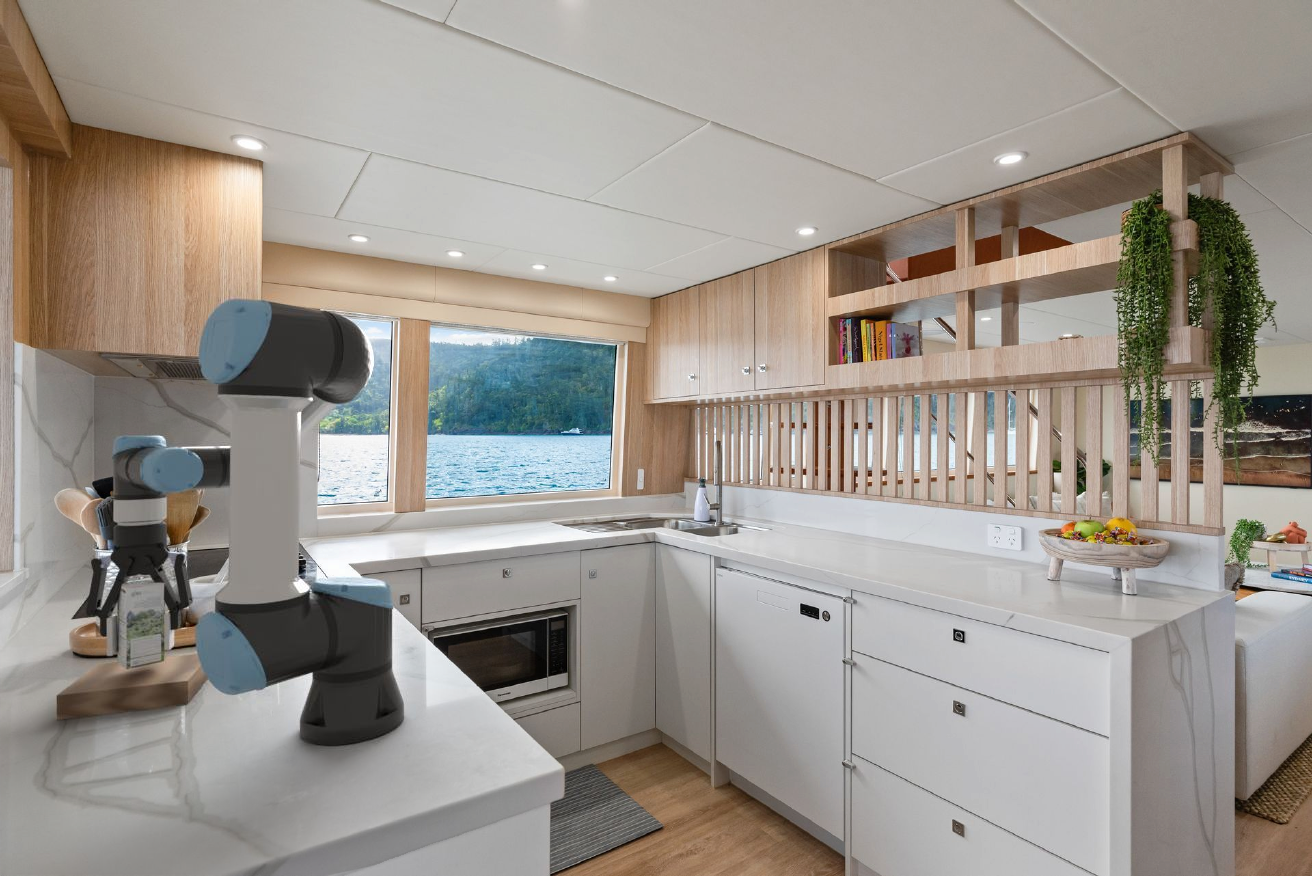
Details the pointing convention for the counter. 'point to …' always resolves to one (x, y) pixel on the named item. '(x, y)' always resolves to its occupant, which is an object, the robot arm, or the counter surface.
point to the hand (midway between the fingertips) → (141, 650)
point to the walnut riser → (132, 687)
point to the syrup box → (141, 623)
